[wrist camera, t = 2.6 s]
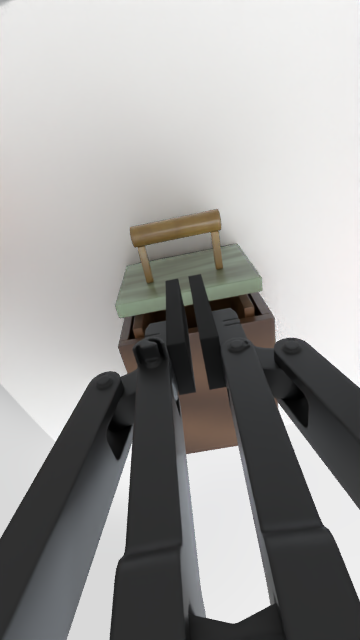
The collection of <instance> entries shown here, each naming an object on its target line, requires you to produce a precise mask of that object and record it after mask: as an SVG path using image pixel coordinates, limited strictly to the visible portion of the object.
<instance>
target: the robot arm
mask: <svg viewBox="0 0 360 640" xmlns="http://www.w3.org/2000/svg"><path fill="white" fill-rule="evenodd" d="M188 278H189V284H190V289H191V294H192V300H193V305H194V311H195V316H196V322H197V327H198V332H199V338H200V343H201V348H202V354H203V359H204V364H205V369H206V374H207V380H208V385H209V390H212V389H218V388H224V387H226V386H227V393H228V399H229V406H230V408H231V413H232V418H233V422H234V427H235V432H236V437H237V442H238V446H239V451H240V456H241V461H242V465H243V471H244V475H245V480H246V485H247V490H248V495H249V499H250V504H251V509H252V514H253V519H254V524H255V528H256V533H257V538H258V543H259V548H260V552H261V557H262V562H263V567H264V572H265V577H266V582H267V587H268V593H269V599H270V604H271V606H269V607H267V608H265V609H263V610H261V611H259V612H257V613H256V614H254V615H252V616H250V617H248V618H246V619H244V620H242V621H241V622H239V623H235V624H231V623H226V622H222V621H217V620H212V619H208V618H206V615H205V609H204V604H203V598H202V593H201V586H200V578H199V568H198V559H197V550H196V541H195V532H194V524H193V514H192V505H191V496H190V487H189V477H188V468H187V459H186V450H185V441H184V432H183V422H182V413H181V404H180V400H179V396H178V392H179V395H184V394H189V393H195V392H196V387H195V379H194V371H193V364H192V356H191V349H190V341H189V333H188V326H187V318H186V313H185V309H184V304H183V299H182V294H181V289H180V285H179V280H178V279H172V280H167V281H165V284H166V321H162V322H156V323H151V324H149V326H148V327H147V328H146V330H145V339H142V340H140V341H138V342H137V343H136V344H135V345H134V346H133V349H132V350H133V353H134V356H135V359H136V362H137V365H138V366H137V369H136V370H134V371H133V372H131V373H129V374H127V375H124V376H122V377H120V375H119V374H118V373H116V372H111V371H109V372H104V373H102V374H99V375H97V376H96V377H95V378H93V379H92V381H91V382H90V383H89V385H88V386H87V388H86V390H85V392H84V393H83V395H82V397H81V399H80V400H79V402H78V404H77V406H76V407H75V409H74V411H73V413H72V414H71V416H70V418H69V420H68V421H67V423H66V425H65V427H64V428H63V430H62V432H61V434H60V435H59V437H58V439H57V441H56V442H55V444H54V446H53V448H52V449H51V451H50V453H49V455H48V456H47V458H46V460H45V462H44V464H43V465H42V467H41V469H40V470H39V472H38V474H37V476H36V477H35V479H34V481H33V483H32V484H31V486H30V488H29V490H28V492H27V493H26V495H25V497H24V498H23V500H22V502H21V504H20V505H19V507H18V509H17V510H16V512H15V514H14V516H13V517H12V519H11V521H10V523H9V525H8V526H7V528H6V530H5V531H4V533H3V535H2V537H1V538H0V640H66V639H67V636H68V633H69V630H70V627H71V624H72V621H73V618H74V615H75V612H76V609H77V606H78V603H79V600H80V597H81V594H82V591H83V588H84V585H85V582H86V579H87V576H88V573H89V570H90V567H91V564H92V561H93V558H94V555H95V552H96V549H97V546H98V543H99V540H100V537H101V534H102V530H103V528H104V525H105V522H106V519H107V516H108V513H109V510H110V507H111V503H112V501H113V498H114V494H115V491H116V489H117V486H118V483H119V480H120V476H121V473H122V471H123V468H124V464H125V461H126V458H127V455H128V452H129V449H130V446H131V443H132V457H131V473H130V487H129V503H128V517H127V533H126V547H125V553H124V556H123V557H122V558H121V559H120V560H119V562H118V565H117V568H116V575H115V583H114V594H113V595H114V596H113V606H112V618H111V629H110V640H360V601H359V599H358V596H357V593H356V591H355V589H354V586H353V583H352V581H351V578H350V576H349V574H348V571H347V568H346V566H345V563H344V561H343V558H342V556H341V553H340V551H339V548H338V546H337V544H336V542H335V540H334V537H333V535H332V534H331V532H330V531H329V529H327V528H326V527H325V526H324V525H323V524H322V522H321V519H320V517H319V515H318V512H317V510H316V507H315V504H314V502H313V499H312V497H311V494H310V491H309V489H308V486H307V484H306V481H305V478H304V476H303V473H302V470H301V468H300V465H299V462H298V460H297V457H296V455H295V452H294V449H293V447H292V445H291V442H290V439H289V436H288V434H287V431H286V429H285V426H284V423H283V421H282V418H281V415H280V413H279V410H278V408H277V405H276V402H275V400H274V398H276V399H277V401H278V403H279V404H280V406H281V407H282V408H283V409H284V411H285V412H286V413H287V415H288V416H289V417H290V419H291V420H292V421H293V423H294V424H295V425H296V426H297V428H298V429H299V430H300V432H301V433H302V434H303V436H304V437H305V438H306V440H307V441H308V442H309V443H310V445H311V446H312V448H313V449H314V450H315V451H316V453H317V454H318V455H319V457H320V458H321V459H322V461H323V462H324V463H325V465H326V466H327V467H328V469H329V470H330V471H331V472H332V474H333V475H334V476H335V478H336V479H337V480H338V482H339V483H340V484H341V486H342V487H343V488H344V490H345V491H346V492H347V493H348V495H349V496H350V497H351V499H352V500H353V501H354V503H355V504H356V505H357V507H358V508H359V509H360V388H359V387H358V386H357V385H356V384H354V383H353V382H352V381H351V380H350V379H349V378H347V377H346V376H345V375H344V374H343V373H342V372H340V371H339V370H338V369H337V368H336V367H335V366H333V365H332V364H331V363H330V362H329V361H328V360H326V359H325V358H324V357H323V356H322V355H321V354H319V353H318V352H317V351H316V350H315V349H314V348H312V347H311V346H310V345H309V344H308V343H306V342H305V341H303V340H301V339H297V338H286V339H282V340H279V341H277V342H276V344H275V345H274V348H261V347H257V346H255V345H253V343H252V342H251V341H250V340H248V339H247V337H246V334H245V332H244V330H243V327H242V325H241V323H240V320H239V319H238V316H237V313H236V312H235V311H234V310H232V309H231V308H226V309H221V310H216V311H211V307H210V304H209V300H208V297H207V293H206V290H205V286H204V283H203V279H202V276H201V274H198V275H193V276H188ZM132 440H133V441H132Z"/></svg>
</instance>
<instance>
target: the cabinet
mask: <svg viewBox="0 0 360 640" xmlns="http://www.w3.org/2000/svg"><path fill="white" fill-rule="evenodd" d="M247 295H248V297H249V299H250V300H251V302H252V304H253V306H254V314H255V316H253V317H248V318H243V319H239V320H240V323H241V325H242V327H243V330H244V332H245V334H246V337H247V339H248V340H250V341H251V342H252V343H253V345H255V346H257V347H261V348H274V345H275V344H276V339H275V318H274V316H273V314H272V313H271V311H270V310H269V308H268V306H267V305H266V303H265V302H264V300H263V299H262V297H261V295H260V294H259V292H254V293H249V294H247ZM134 318H135V316H129V317H125V318H124V323H123V327H122V332H121V336H120V341H119V345H118V348H119V351H120V354H121V357H122V359H123V362H124V365H125V368H126V370H127V373H128V374H129V373H131V372H133V371H134V370H136V369H137V366H138V365H137V362H136V359H135V356H134V353H133V350H132V349H133V346H134V345H135V344H136V343H137V342H138V341H140V340H142V339H145V337H141V338H136V339H135V335H134V332H133V325H134ZM188 333H189V341H190V349H191V356H192V364H193V371H194V379H195V387H196V392H195V393H189V394H184V395H179V392H178V396H179V400H180V404H181V413H182V422H183V432H184V441H185V450H186V454H190V453H195V452H202V451H208V450H214V449H220V448H226V447H232V446H238V442H237V437H236V432H235V427H234V422H233V418H232V413H231V408H230V406H229V399H228V393H227V386H226V387H224V388H218V389H212V390H209V385H208V380H207V374H206V369H205V364H204V359H203V354H202V348H201V343H200V338H199V332H198V327H195V328H189V329H188ZM274 400H275V402H276V405H277V408H278V401H277V399H276V398H274Z"/></svg>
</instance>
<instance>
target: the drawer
mask: <svg viewBox="0 0 360 640" xmlns="http://www.w3.org/2000/svg"><path fill="white" fill-rule="evenodd" d="M218 230H221V219H220V214H219V210H218V209H214V210H210V211H205V212H200V213H195V214H191V215H186V216H181V217H176V218H171V219H167V220H162V221H157V222H152V223H147V224H143V225H138V226H133V227H130V236H131V240H132V243H133V246H134V247H138V252H139V256H140V260H141V263H139V264H134V265H129V266H127V267H126V271H125V274H124V277H123V281H122V284H121V287H120V291H119V294H118V298H117V301H116V304H115V307H116V310H117V313H118V316H119V318H124V317H129V316H135V318H134V325H133V332H134V335H135V339H136V338H141V337H145V330H146V328H147V327H148V326H149V324H151V323H156V322H162V321H166V284H165V281H167V280H172V279H178V280H179V285H180V289H181V294H182V299H183V304H184V309H185V313H186V318H187V326H188V329H189V328H195V327H197V322H196V316H195V311H194V305H193V300H192V294H191V289H190V284H189V278H188V276H193V275H198V274H201V276H202V279H203V283H204V286H205V290H206V293H207V297H208V300H209V304H210V307H211V311H216V310H221V309H226V308H231V309H232V310H234V311H235V312H236V313H237V316H238V319H243V318H248V317H253V316H255V314H254V306H253V304H252V302H251V300H250V299H249V297H248V295H247V294H249V293H254V292H260V291H262V277H261V276H260V275H259V273H258V272H257V270H256V269H255V268H254V266H253V265H252V263H251V262H250V261H249V259H248V258H247V257H246V255H245V254H244V252H243V251H242V250H241V248H240V247H239V246H238V244H233V245H228V246H223V247H220V239H219V232H218ZM208 232H210V233H211V240H212V247H213V249H208V250H203V251H198V252H193V253H188V254H183V255H179V256H174V257H169V258H164V259H159V260H154V261H149V259H148V255H147V251H146V247H145V245H150V244H155V243H159V242H164V241H169V240H174V239H179V238H184V237H189V236H194V235H199V234H203V233H208Z"/></svg>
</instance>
